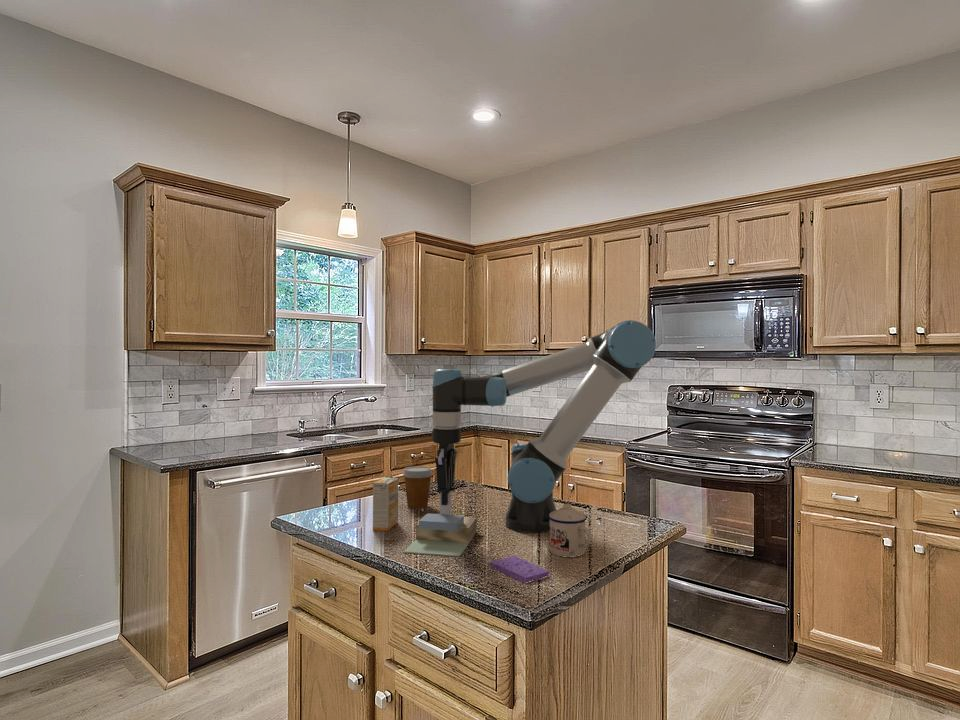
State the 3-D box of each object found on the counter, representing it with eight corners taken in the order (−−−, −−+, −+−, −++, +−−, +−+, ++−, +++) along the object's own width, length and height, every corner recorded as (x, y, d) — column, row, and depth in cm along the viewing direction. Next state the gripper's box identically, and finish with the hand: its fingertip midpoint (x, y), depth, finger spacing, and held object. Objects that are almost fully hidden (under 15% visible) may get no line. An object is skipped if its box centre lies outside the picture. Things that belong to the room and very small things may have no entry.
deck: (476, 532, 157) (476, 517, 157) (468, 543, 147) (468, 528, 147) (427, 529, 159) (427, 514, 159) (415, 540, 150) (416, 524, 149)
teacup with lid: (540, 550, 142) (541, 503, 142) (566, 543, 147) (566, 498, 147) (577, 564, 132) (577, 513, 132) (603, 556, 138) (603, 507, 138)
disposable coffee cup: (431, 510, 179) (431, 471, 179) (400, 510, 179) (400, 471, 179) (433, 502, 189) (434, 466, 188) (404, 502, 189) (404, 465, 189)
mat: (468, 544, 147) (468, 542, 147) (459, 556, 137) (459, 555, 137) (415, 540, 149) (415, 539, 149) (403, 552, 140) (403, 551, 140)
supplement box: (388, 531, 157) (388, 483, 157) (372, 530, 158) (372, 482, 158) (399, 523, 165) (399, 477, 165) (383, 522, 166) (383, 476, 166)
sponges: (525, 586, 121) (525, 577, 121) (489, 568, 131) (489, 560, 131) (550, 579, 125) (550, 570, 125) (513, 562, 135) (513, 554, 135)
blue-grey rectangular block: (463, 523, 151) (463, 515, 151) (457, 531, 144) (457, 523, 144) (427, 520, 153) (427, 513, 153) (419, 528, 146) (419, 520, 146)
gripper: (439, 424, 160) (439, 509, 160) (425, 429, 147) (424, 522, 147) (466, 425, 158) (465, 510, 158) (453, 430, 145) (453, 524, 146)
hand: (445, 516), depth 153 cm, fingers closed
